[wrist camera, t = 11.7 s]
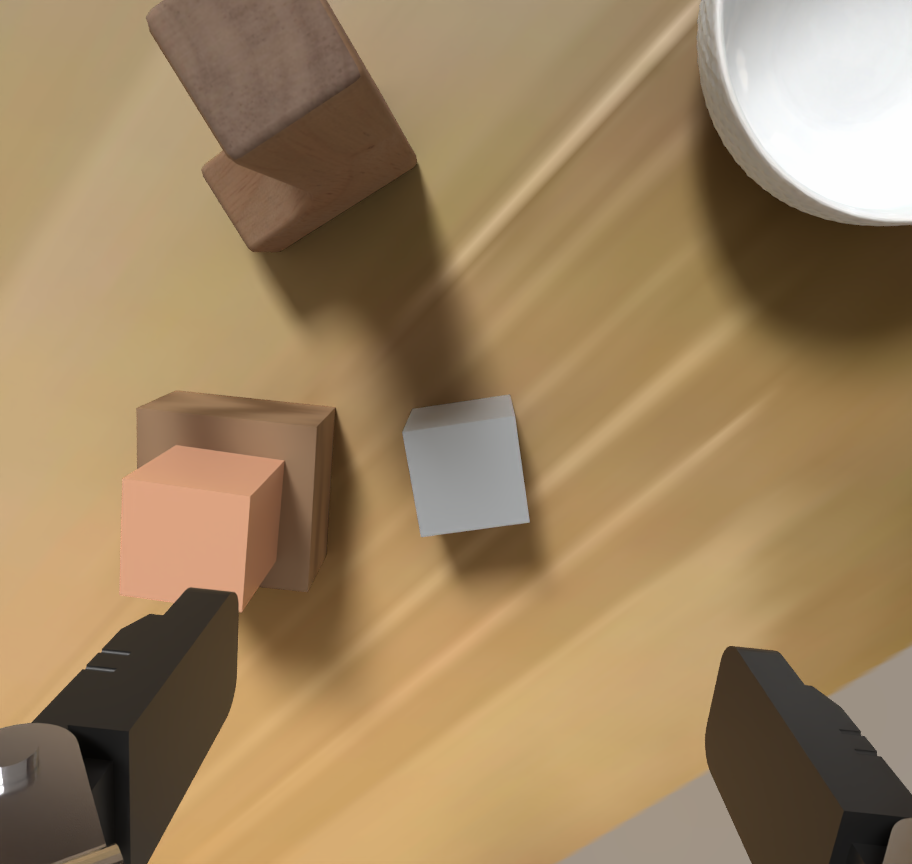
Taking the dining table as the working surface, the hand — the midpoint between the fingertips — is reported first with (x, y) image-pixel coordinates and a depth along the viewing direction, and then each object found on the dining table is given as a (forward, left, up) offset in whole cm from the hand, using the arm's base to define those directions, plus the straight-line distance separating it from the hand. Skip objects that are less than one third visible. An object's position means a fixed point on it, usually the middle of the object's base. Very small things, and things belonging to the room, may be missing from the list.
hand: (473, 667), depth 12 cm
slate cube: (0, +4, -28) cm, 28 cm away
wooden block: (+9, -10, -28) cm, 31 cm away
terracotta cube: (+12, +7, -23) cm, 27 cm away
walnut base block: (+12, +7, -28) cm, 32 cm away
